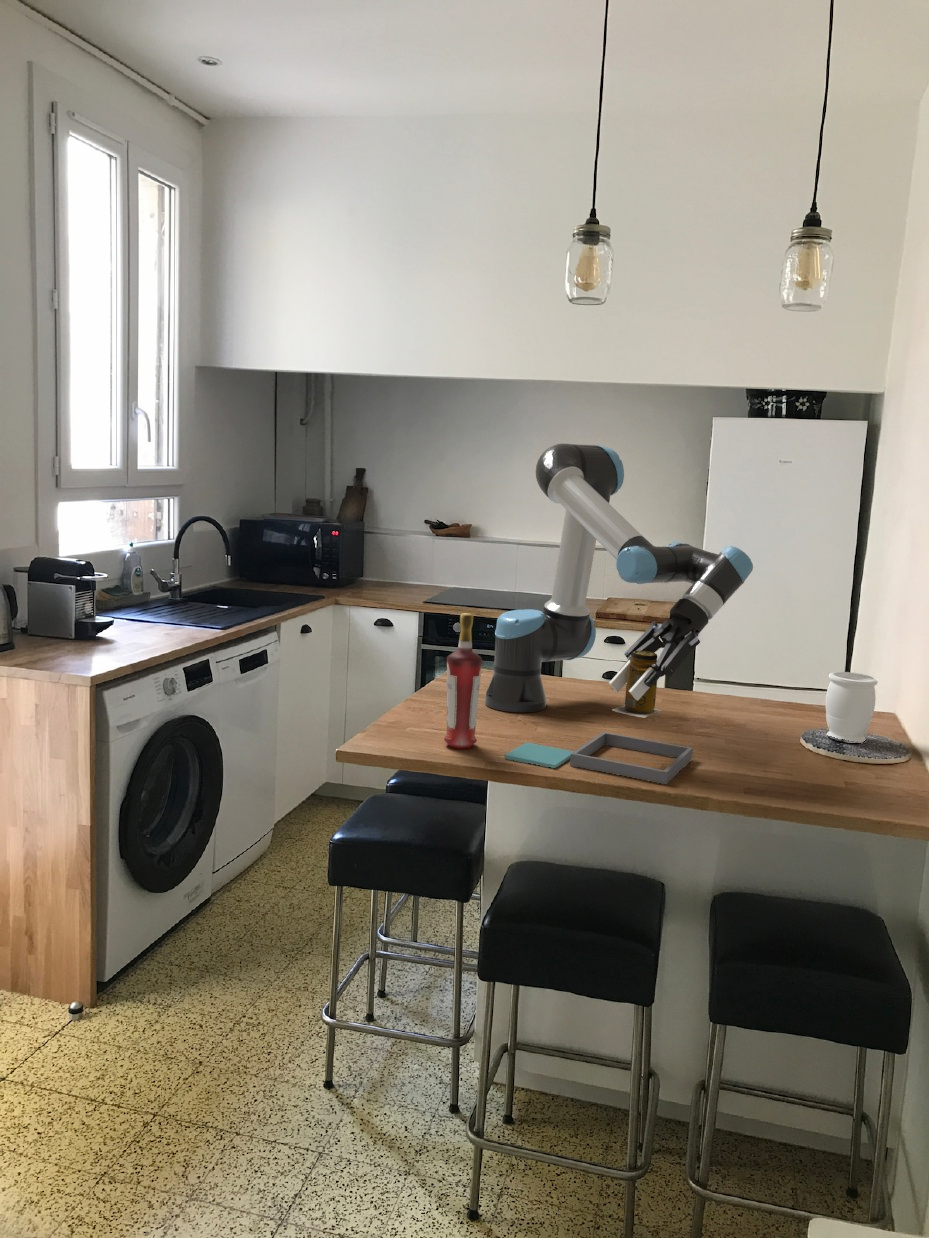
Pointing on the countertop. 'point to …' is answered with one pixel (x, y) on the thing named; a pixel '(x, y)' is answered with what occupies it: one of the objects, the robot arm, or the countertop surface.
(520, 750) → the coaster
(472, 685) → the liquor
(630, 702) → the condiment
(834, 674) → the jar
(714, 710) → the countertop surface
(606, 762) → the frame
